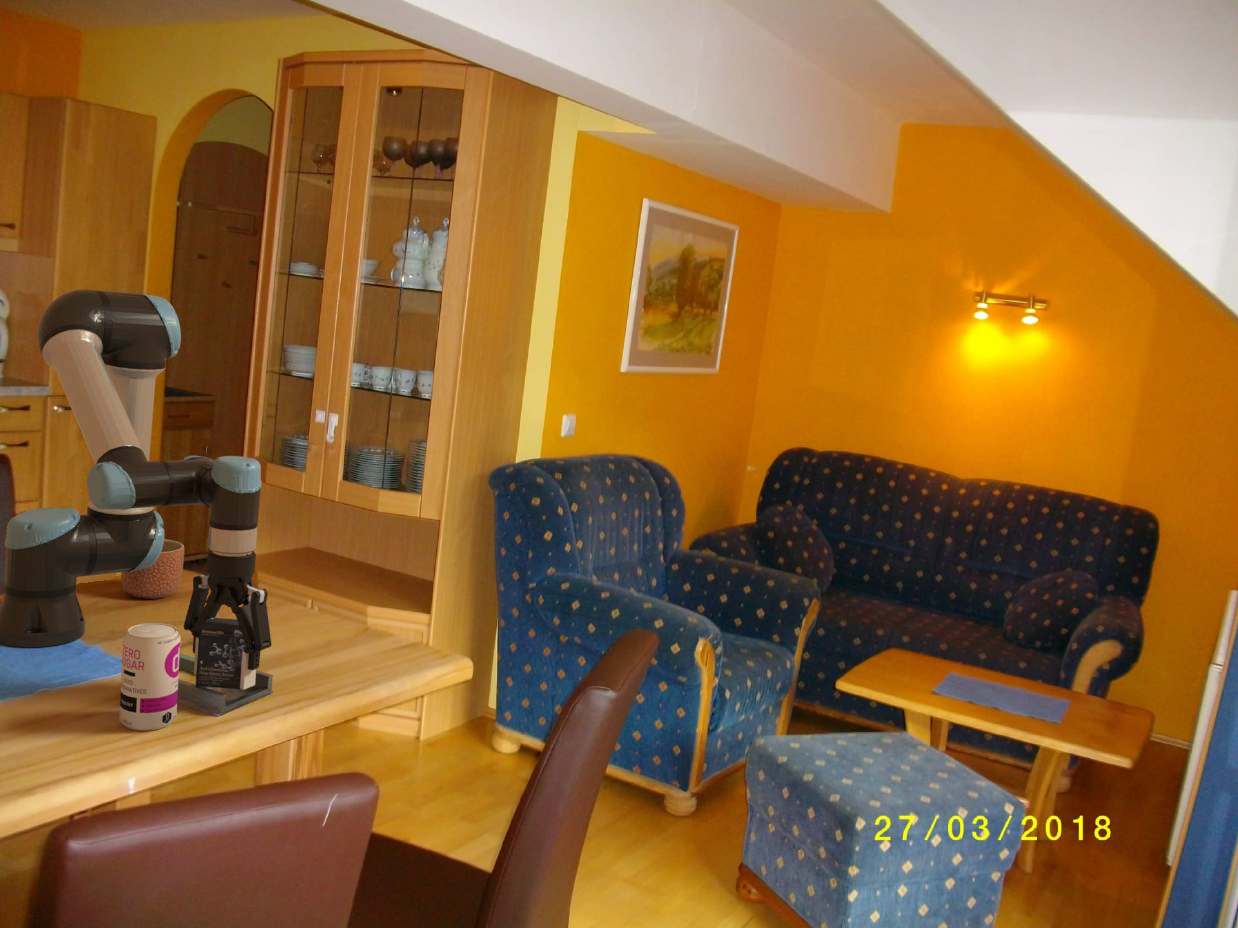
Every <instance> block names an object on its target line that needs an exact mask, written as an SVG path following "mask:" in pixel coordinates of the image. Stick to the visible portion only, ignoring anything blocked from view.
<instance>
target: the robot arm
mask: <svg viewBox="0 0 1238 928" xmlns="http://www.w3.org/2000/svg"><path fill="white" fill-rule="evenodd" d="M181 342H182V334H181V326H180V321H179V316H178V315H177V312H176V310H175V309H174V307H173V305H172V304H171V303H170V301H168V300H167V299H166V298H163V297H161V296H157V295H151V294H147V293H136V292H126V291H125V292H123V291H121V292H120V291H108V290H94V289H91V288H90V289H88V288H85V289H84V288H83V289H74V290H71V291H68V292H66V293H63V294H61V295H60V296H58V297H56V299H54V300H53V301H52V302H51V303H49V305H47V307H46V309H45V310H44V311H43V313H42V315H41V317H40V320H39V322H38V327H37V344H38V348H39V351H40V354H41V356H42V358H43V360H44V362H45V364H47V365H48V366H49V367H50V368H52V369H54V371H55V373H56V375H57V378H58V380H59V382H60V384H61V386H62V388H63V392H64V394H65V397H66V399H67V401H68V403H69V406H70V408H71V410H72V413H73V416H74V418H75V420H76V422H77V425H78V427H79V429H80V433H81V434H82V436H83V439H84V442H85V445H86V446H87V449H88V452H89V454H90V456H91V458H92V460H93V461H92V462H93V463H94V464H93V465H92V466H91V467H90V469H89V470H88V474H87V477H86V478H87V479H86V488H87V489H88V491H87V492H88V494H87V495H88V498H89V501H88V502H87V510H86V514H79V511H78V510H77V509H75V508H73V507H68V506H58V507H54V506H50V507H41V508H40V507H39V508H33V509H30V510H26V511H23V512H21V513H18V514H17V515H15V516H13V517H11V518H10V520H9V521H8V522H7V526H6V535H5V540H4V546H5V557H4V558H5V562H4V563H5V565H4V595H3V599H2V600H1V604H0V644H2V645H6V646H10V647H11V646H12V647H19V648H41V647H44V648H45V647H53V646H58V645H63V644H67V643H70V642H74V641H76V640H78V639H80V638H82V637H83V636H84V635H85V633H86V632H85V630H86V620H85V617H84V615H83V612H82V608H81V605H80V603H79V599H78V596H77V578H81V577H89V576H97V575H99V576H100V575H108V574H115V573H116V574H117V573H121V572H132V571H134V570H141V569H146V568H148V567H150V566H151V565H152V564H153V563H155V562H156V560H157V559H158V557H159V556H160V553H161V551H162V548H163V543H164V539H165V528H163V527H164V521H163V518H162V516H161V514H159V512H157V511H156V510H155V507H172V506H174V507H176V506H188V505H190V506H191V505H203V506H205V507H208V508H209V509H210V510H209V529H208V540H207V548H208V549H209V551H208V552H207V561H206V572H207V573H204V574H200V575H195V576H194V577H193V578H192V589H193V590H192V593H191V597H190V601H189V605H188V607H187V610H186V611H187V612H186V615H185V619H184V623H183V629H184V630H185V631H188V632H190V633H191V635H192V636H193V637H192V639H193V640H192V653H193V654H194V658H195V662H194V672H193V675H194V676H196V672H197V658H198V641H199V628H200V626H201V625H202V624H203V623H204V622H205V621H206V620H207V619H210V618H213V617H214V618H217V617H216V616H217V615H218V614H219V613H218V612H219V611H220V609H221V608H222V606H223V605H224V606H227V607H228V608H230V610H231V613H233V614H234V615H235V618H236V619H237V621H238V624H239V627H240V630H241V633H242V636H243V639H244V642H245V645H246V648H247V650H244V651H242V666H241V681H240V689H243V690H244V689H247V688H249V687H252V686H254V685H255V678H256V670H257V669H259V667H260V662H261V651H263V650H266V649H269V648H271V647H272V637H271V631H270V622H269V615H268V607H267V600H268V594H269V593H268V590H267V589H266V588H263V589H258V588H255V587H254V585H253V582H252V581H253V579H252V578H253V576H254V575H255V572H256V559H257V553H256V552H255V550H256V549H257V541H258V527H259V526H258V525H259V524H258V523H259V515H260V514H259V512H260V501H261V500H260V499H261V489H262V488H261V487H262V479H261V475H262V473H261V471H262V468H261V467H262V466H261V463H260V461H258V460H257V459H255V458H252V457H246V456H241V455H226V456H225V455H223V456H220V457H216V458H215V459H213V458H209V457H208V456H207V457H206V456H199V455H188V456H185V457H184V458H182V459H180V460H179V459H178V460H150V453H151V443H152V442H151V440H152V431H153V430H152V429H153V418H154V417H153V414H154V405H155V403H154V402H155V392H156V391H155V390H156V389H155V388H156V378H157V377H158V375H160V374H161V373H162V372H163V371H165V370H166V363H167V360H168V359H171V358H174V357H175V356H176V355H177V354H178V353H179V352H178V350H180V347H181ZM209 591H210V593H209ZM249 597H250V598H249ZM242 604H244V606H241V605H242ZM253 641H254V644H253Z"/></svg>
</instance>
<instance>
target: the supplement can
mask: <svg viewBox="0 0 1238 928" xmlns="http://www.w3.org/2000/svg"><path fill="white" fill-rule="evenodd" d="M181 641H182V640H181V635H180V633H179V632H178V628H177V627H176V626H174V625H173V624H168V623H163V622H162V623H161V622H148V623H147V622H145V623H138V624H135V625H133V626H131V627H129V628H128V629H127V632H126V634H125V635H124V637H123V639H122V650H121V652H122V654H121V655H122V657H121V678H120V680H121V681H120V695H119V696H120V700H119V717H118V718H119V719H118V720H119V722H120V723H121V724H122V725H124V726H125V728H127V729H129V730H134V731H141V732H142V731H144V732H149V731H156V730H159V729H163V728H166V727H168V726H170V725H171V724H172V723H173V722H174V721H175V720H176V719H177V715H178V713H177V712H178V710H177V709H178V704H177V696H178V680H179V677H180V673H179V671H180V668H179V659H180V653H181Z"/></svg>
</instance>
